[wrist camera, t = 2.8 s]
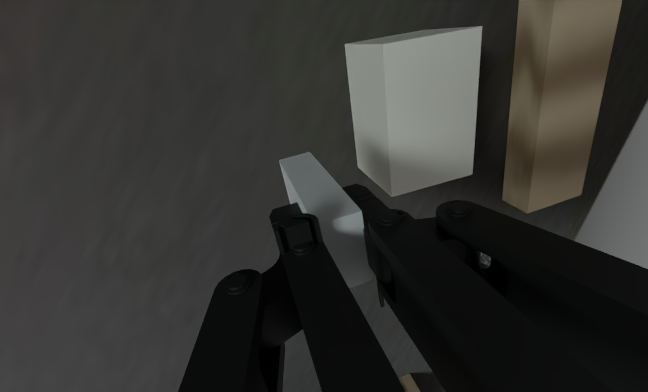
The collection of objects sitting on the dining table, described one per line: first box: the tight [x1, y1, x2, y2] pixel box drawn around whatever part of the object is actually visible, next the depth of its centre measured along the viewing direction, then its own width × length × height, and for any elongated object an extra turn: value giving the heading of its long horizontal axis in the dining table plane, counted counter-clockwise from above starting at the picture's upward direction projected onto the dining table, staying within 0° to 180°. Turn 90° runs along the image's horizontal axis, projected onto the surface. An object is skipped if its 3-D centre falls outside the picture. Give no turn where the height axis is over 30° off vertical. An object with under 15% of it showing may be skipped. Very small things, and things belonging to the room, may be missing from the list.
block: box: [345, 26, 482, 197], centre depth 22 cm, size 9×6×6 cm, turn 9°
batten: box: [502, 0, 622, 214], centre depth 26 cm, size 24×6×3 cm, turn 11°
